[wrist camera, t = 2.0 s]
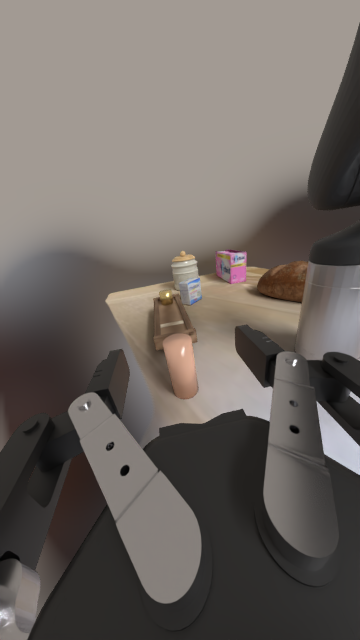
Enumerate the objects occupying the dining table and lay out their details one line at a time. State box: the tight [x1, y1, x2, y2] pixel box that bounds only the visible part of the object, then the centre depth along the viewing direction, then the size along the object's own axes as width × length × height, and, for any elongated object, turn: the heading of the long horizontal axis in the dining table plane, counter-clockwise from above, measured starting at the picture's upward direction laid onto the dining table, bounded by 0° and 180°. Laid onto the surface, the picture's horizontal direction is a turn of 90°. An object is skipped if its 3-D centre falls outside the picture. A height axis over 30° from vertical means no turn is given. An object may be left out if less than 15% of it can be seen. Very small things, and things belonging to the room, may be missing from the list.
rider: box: [163, 333, 198, 399], centre depth 28 cm, size 4×4×10 cm
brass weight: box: [159, 290, 173, 306], centre depth 56 cm, size 4×4×4 cm
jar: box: [171, 251, 199, 291], centre depth 86 cm, size 13×13×18 cm
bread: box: [257, 261, 308, 302], centre depth 56 cm, size 16×29×11 cm, turn 41°
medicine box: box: [179, 278, 202, 305], centre depth 68 cm, size 8×4×9 cm, turn 139°
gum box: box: [216, 249, 246, 284], centre depth 92 cm, size 24×8×14 cm, turn 7°
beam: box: [153, 294, 197, 351], centre depth 50 cm, size 9×28×6 cm, turn 8°
